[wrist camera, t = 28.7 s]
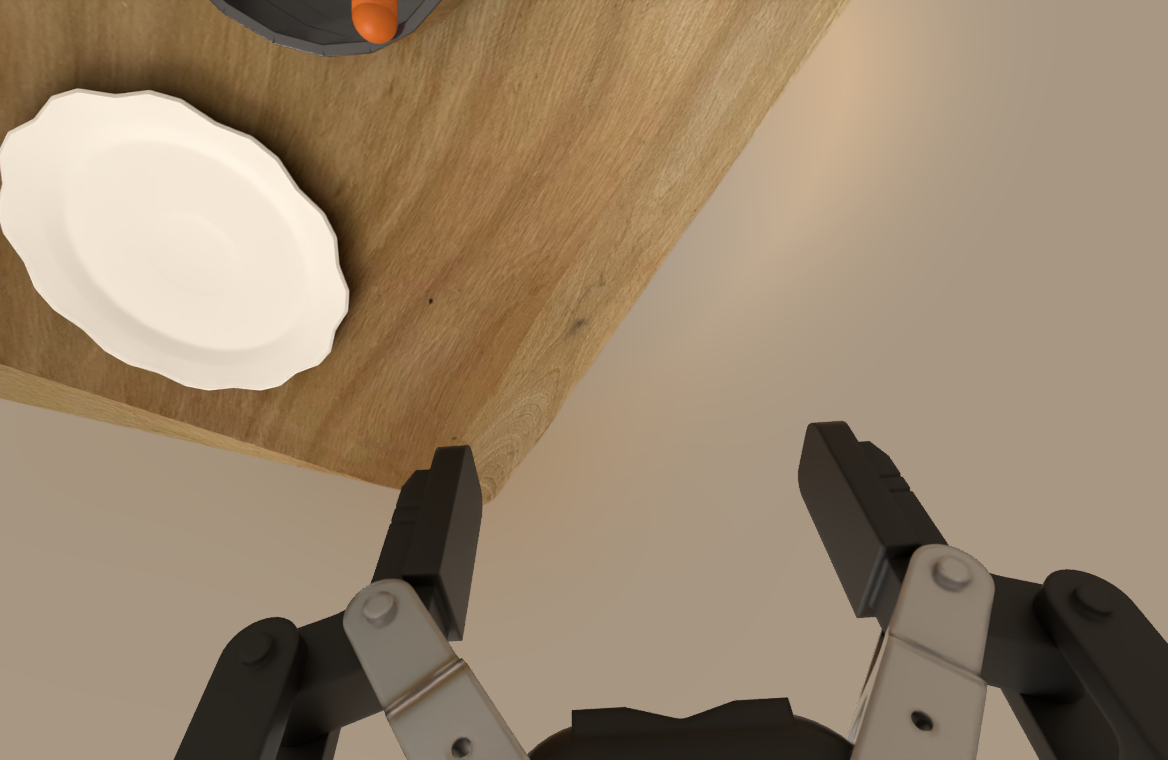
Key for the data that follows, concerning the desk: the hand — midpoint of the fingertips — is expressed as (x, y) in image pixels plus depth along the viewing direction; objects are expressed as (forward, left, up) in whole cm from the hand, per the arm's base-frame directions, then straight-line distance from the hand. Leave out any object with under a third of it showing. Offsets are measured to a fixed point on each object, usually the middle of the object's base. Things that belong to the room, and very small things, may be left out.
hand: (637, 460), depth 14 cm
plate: (+33, +7, -36) cm, 49 cm away
